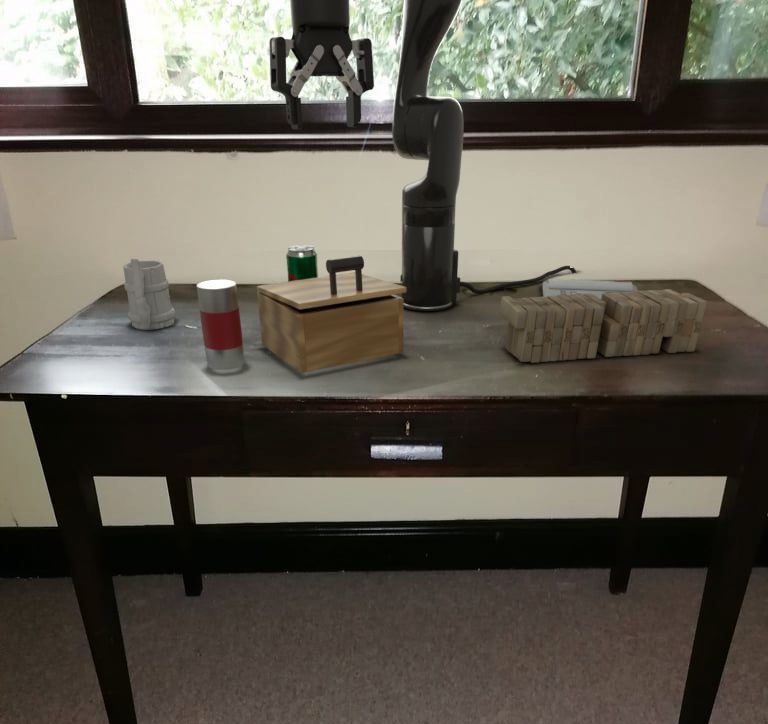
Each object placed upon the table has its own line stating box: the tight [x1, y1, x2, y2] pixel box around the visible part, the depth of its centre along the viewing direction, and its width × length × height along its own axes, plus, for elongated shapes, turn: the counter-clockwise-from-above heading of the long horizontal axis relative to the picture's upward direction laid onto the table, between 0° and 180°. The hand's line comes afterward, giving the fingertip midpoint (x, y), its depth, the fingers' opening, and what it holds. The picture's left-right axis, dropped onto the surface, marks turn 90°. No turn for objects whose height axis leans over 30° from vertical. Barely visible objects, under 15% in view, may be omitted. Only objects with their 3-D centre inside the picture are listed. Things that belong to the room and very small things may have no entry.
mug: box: [122, 258, 176, 331], centre depth 119 cm, size 8×12×12 cm, turn 7°
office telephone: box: [542, 278, 639, 299], centre depth 132 cm, size 23×3×20 cm
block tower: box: [499, 288, 708, 364], centre depth 108 cm, size 8×8×29 cm
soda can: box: [285, 244, 319, 282], centre depth 122 cm, size 5×5×12 cm
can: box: [196, 279, 246, 371], centre depth 102 cm, size 5×5×12 cm
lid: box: [256, 255, 406, 309], centre depth 104 cm, size 15×17×5 cm
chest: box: [256, 291, 404, 374], centre depth 108 cm, size 15×17×9 cm
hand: (325, 128), depth 100 cm, fingers open, 8 cm apart
